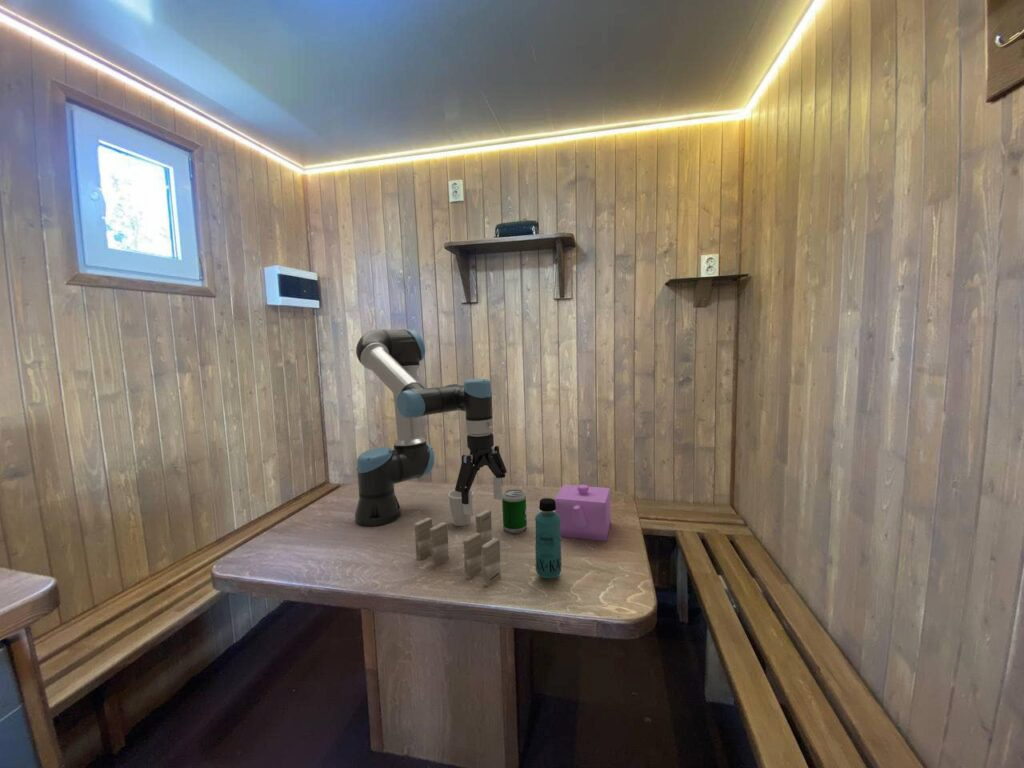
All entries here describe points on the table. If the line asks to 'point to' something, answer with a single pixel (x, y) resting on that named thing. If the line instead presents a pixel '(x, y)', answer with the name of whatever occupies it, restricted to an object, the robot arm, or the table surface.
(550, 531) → the beverage bottle
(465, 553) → the domino
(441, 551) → the domino
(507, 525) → the soda can
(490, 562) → the domino
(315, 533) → the table surface
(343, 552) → the table surface
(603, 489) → the purple lidded box
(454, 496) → the dixie cup
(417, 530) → the domino
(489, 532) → the domino
